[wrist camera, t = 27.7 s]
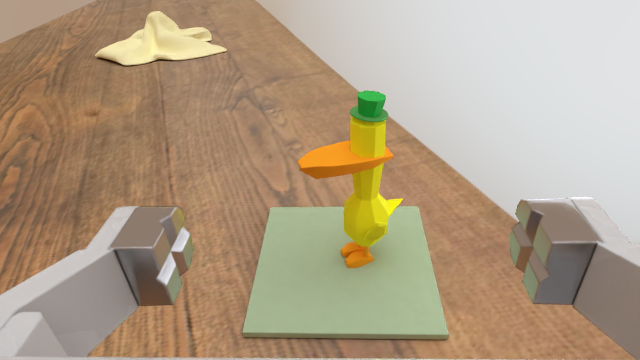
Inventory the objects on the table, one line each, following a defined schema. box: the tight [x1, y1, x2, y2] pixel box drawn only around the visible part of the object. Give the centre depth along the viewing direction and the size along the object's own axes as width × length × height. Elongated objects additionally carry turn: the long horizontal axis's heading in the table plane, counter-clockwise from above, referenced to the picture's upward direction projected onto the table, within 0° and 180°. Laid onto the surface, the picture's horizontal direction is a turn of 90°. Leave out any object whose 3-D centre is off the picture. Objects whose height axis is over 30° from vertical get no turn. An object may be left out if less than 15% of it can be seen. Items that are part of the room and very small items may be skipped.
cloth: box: [95, 11, 227, 65], centre depth 74 cm, size 22×19×6 cm
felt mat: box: [242, 206, 449, 340], centre depth 30 cm, size 12×12×1 cm
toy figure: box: [298, 91, 403, 268], centre depth 26 cm, size 7×4×12 cm, turn 106°
